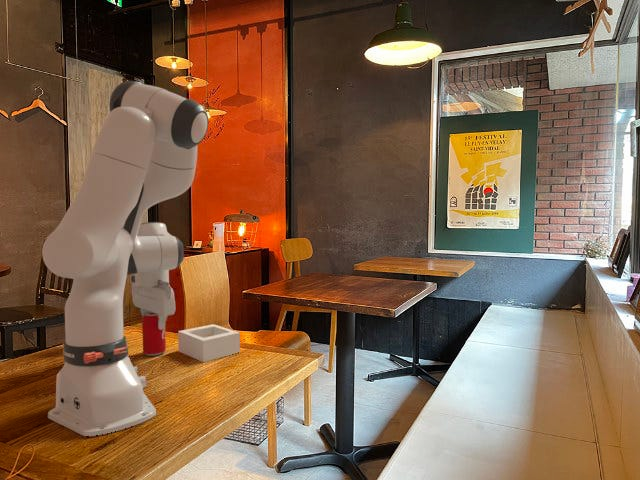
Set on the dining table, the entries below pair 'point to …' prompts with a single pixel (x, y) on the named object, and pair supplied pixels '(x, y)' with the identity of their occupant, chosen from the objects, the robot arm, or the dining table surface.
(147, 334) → the beverage can
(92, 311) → the robot arm
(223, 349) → the white square frame
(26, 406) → the dining table surface
